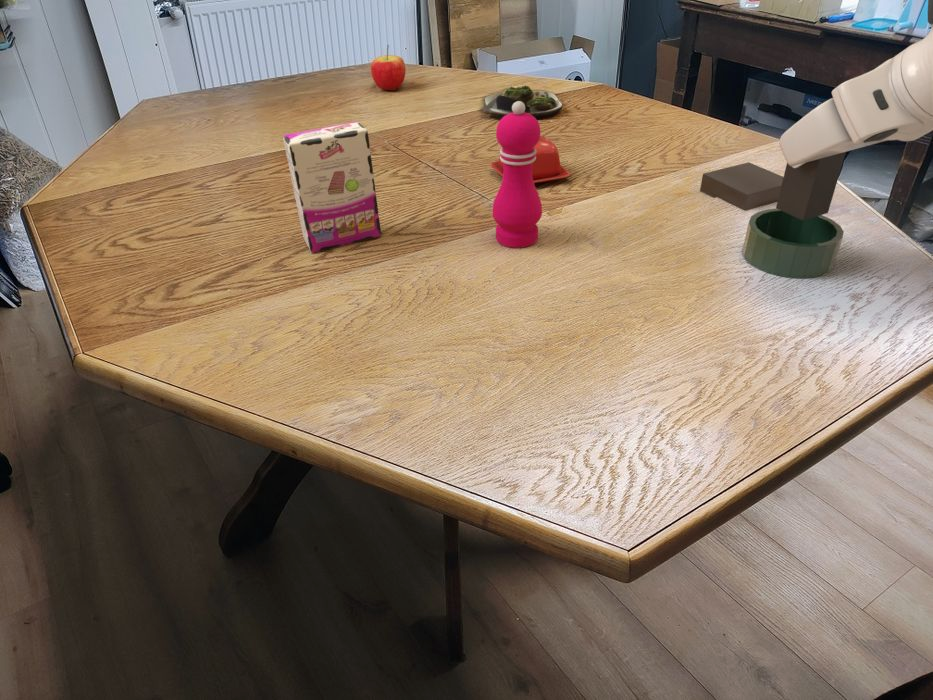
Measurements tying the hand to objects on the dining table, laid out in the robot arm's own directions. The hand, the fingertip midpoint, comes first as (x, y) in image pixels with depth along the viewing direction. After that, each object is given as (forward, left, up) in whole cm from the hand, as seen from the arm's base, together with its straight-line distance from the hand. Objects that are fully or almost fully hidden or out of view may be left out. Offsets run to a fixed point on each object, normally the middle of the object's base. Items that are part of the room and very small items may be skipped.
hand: (811, 157), depth 86 cm
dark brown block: (0, +1, -7) cm, 7 cm away
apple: (+16, -109, -14) cm, 112 cm away
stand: (-11, -18, -14) cm, 26 cm away
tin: (0, +1, -14) cm, 14 cm away
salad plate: (-3, -77, -14) cm, 79 cm away
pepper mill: (+29, -23, -14) cm, 40 cm away
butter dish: (+15, -43, -14) cm, 48 cm away
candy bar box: (+52, -36, -14) cm, 65 cm away
